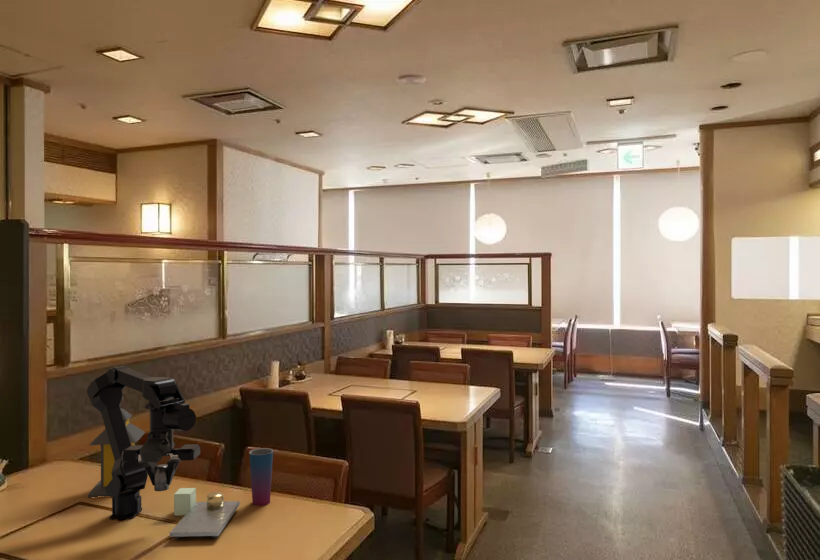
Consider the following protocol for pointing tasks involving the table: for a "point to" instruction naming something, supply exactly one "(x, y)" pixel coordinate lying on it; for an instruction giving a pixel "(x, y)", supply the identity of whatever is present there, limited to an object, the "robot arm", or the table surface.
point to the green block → (184, 500)
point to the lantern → (111, 454)
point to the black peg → (161, 477)
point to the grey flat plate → (205, 520)
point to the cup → (261, 475)
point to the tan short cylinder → (215, 500)
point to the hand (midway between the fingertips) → (161, 484)
